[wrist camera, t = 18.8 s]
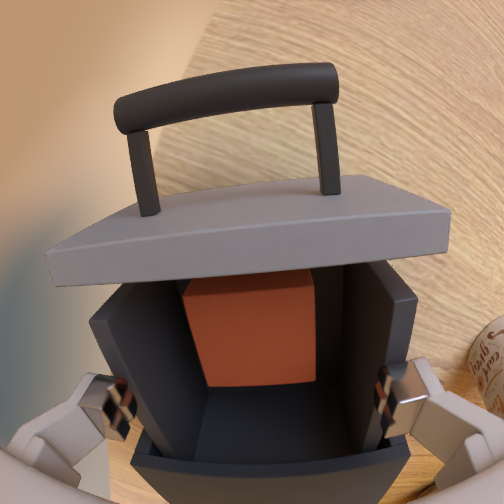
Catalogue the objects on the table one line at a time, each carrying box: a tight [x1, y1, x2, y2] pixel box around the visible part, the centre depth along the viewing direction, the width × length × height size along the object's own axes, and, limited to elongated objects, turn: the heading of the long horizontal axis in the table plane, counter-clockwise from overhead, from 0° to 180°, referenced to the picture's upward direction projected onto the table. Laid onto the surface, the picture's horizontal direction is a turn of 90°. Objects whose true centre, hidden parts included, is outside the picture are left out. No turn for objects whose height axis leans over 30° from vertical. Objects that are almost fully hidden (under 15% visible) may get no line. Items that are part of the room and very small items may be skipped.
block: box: [182, 268, 316, 387], centre depth 12 cm, size 4×4×4 cm
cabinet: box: [130, 428, 411, 504], centre depth 16 cm, size 15×13×10 cm
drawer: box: [45, 62, 451, 464], centre depth 12 cm, size 18×11×8 cm, turn 7°
